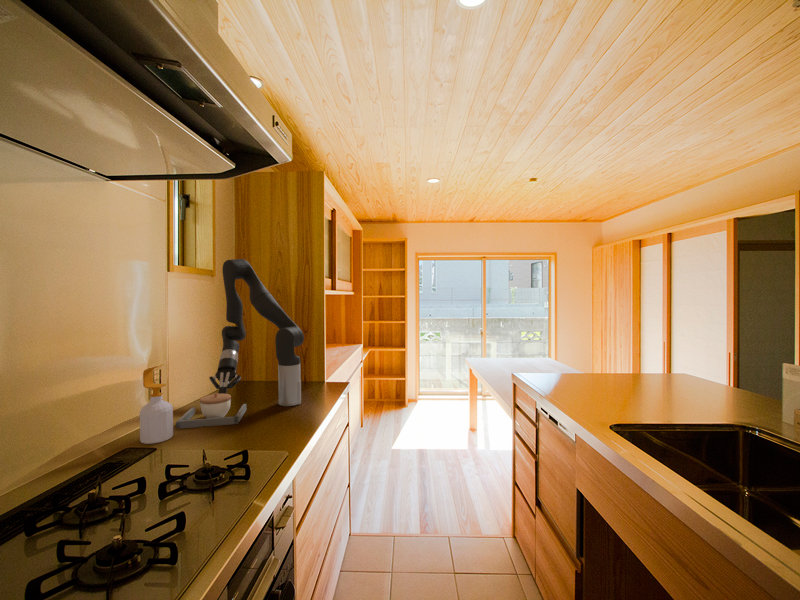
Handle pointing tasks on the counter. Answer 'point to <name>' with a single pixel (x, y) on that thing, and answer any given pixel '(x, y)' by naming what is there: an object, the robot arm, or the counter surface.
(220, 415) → the lidded jar
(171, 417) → the soap bottle
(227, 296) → the robot arm
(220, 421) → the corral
